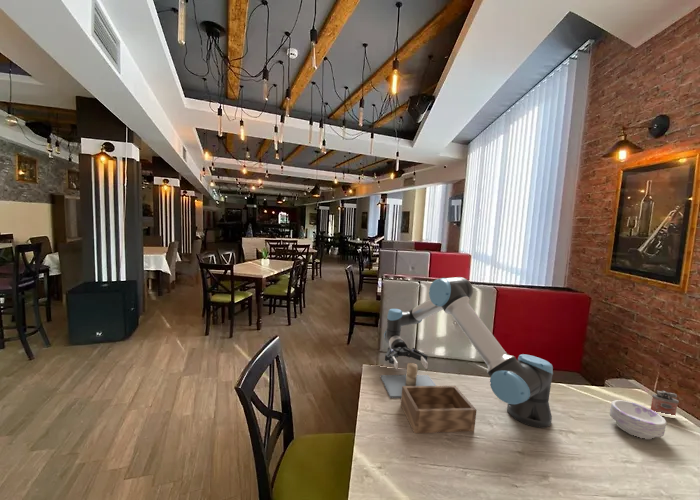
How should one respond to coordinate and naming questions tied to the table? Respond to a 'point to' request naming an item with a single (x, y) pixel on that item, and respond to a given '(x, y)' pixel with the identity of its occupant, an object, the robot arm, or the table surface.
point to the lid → (405, 381)
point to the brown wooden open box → (437, 409)
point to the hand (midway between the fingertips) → (412, 366)
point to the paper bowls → (637, 419)
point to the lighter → (664, 402)
